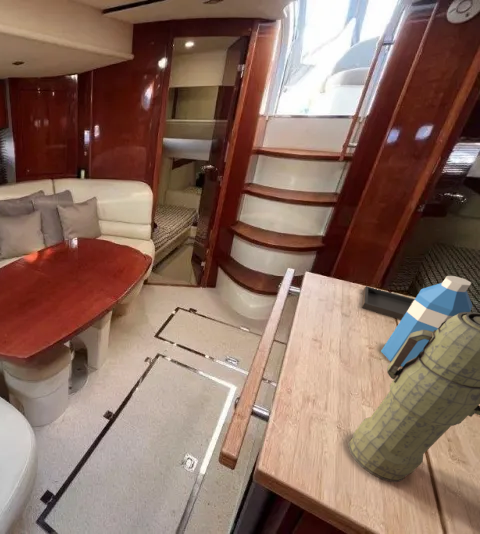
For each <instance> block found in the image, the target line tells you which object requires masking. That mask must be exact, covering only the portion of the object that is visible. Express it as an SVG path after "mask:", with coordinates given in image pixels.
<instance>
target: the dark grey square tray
mask: <svg viewBox="0 0 480 534" xmlns="http://www.w3.org/2000/svg"><path fill="white" fill-rule="evenodd" d="M365 286H366V287H365ZM365 286H364V288H363V290H362V297H361V298H362V300H361V309H363V310H367V311H369V312H373V313H376V314H380V315H384V316H387V317H390V318H393V319H397V320H400V321H401V320H402V318H403V317H404V315H405V313H406V312H407V310H408V309H409V307H410V306H411V304H412V303H413V301H414V300H415V298H413V297H408V296H405V295H401V294H398V293H393V292H389V291H386V290H382V289H379V288H375V287H372V286H367V285H365ZM374 288H375V289H374ZM377 289H378V290H377ZM381 290H382V291H381Z"/></svg>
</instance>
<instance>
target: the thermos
mask: <svg viewBox="0 0 480 534" xmlns="http://www.w3.org/2000/svg"><path fill="white" fill-rule="evenodd" d="M423 339H426V340H429V341H428V343H427V344H426V345H425V347H424V348H423V349H424V351H422V352H420V353H419V355H418V356H417V357H415V358H413V359H412V360H410V361H408V362H406V364H405V365H404V366H403V367H402V366H401V364H402V363H403V361H404V360H405V359H406V357H407V356H408V354H409V353H410V352H411V350H412V349H413V347H414V346H415V345H416V343H417V342H418V341H420V340H423ZM386 373H387V374H388V376H389V377H390V378H391V379H392V380H391V383H390V384H389V392H388V393H387V394H386V396H385V397H384V398H383V400H381V402H380V404H379V405H378V406H377V408H376V409H375V410H374V412H373V413H372V414H371V416H368V417H367V418H364V419H363V420H362V421H361V423H360V424H359V426H357V428H356V429H355V430H354V432H353V434H352V437H350V440H349V441H348V445H347V446H348V450H349V454H350V455H351V456H352V458H353V459H354V461H355V462H356V463H357V464H358V465H359V466H360V467H361V468H362V469H364V470H365V471H367V472H368V473H369V474H371V475H372V476H374V477H376V478H378V479H379V480H383V481H385V482H390V483H399V482H401V481H403V480H404V479H405V478H406V476H409V475H411V474H412V473H414V471H416V469H418V467H419V466H420V465H421V464H422V463H423V461H424V454H425V453H427V452H428V450H429V449H430V448H431V447H433V445H434V444H435V443H436V442H437V441H438V440H440V438H441V437H442V436H443V435H444V434H445V433H446V432H447V431H448V430H449V429H450V428H451V427H452V426H457V425H460V424H461V423H462V422H463V421H464V420H465V419H466V418H468V417H470V418H472V417H473V416H474V415H478V416H480V312H473V311H470V312H462V313H458V314H457V315H455V316H453V317H451V318H450V319H448V320H446V321H445V322H443V323H442V324H441V325H440V327H439V328H438V329H437V330H434V332H433V331H428V330H420V331H416V332H413V333H411V334H410V335H409V337H408V338H407V340H406V341H405V343H404V344H403V346H402V347H401V349H400V350H399V351H398V353H397V354H396V356H395V357H394V359H393V360H392V361H390V362H389V364H388V365H387V367H386Z"/></svg>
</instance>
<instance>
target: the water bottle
mask: <svg viewBox="0 0 480 534" xmlns="http://www.w3.org/2000/svg"><path fill="white" fill-rule="evenodd" d="M471 284H472V282H471V281H469V280H468V279H466V278H463V277H459V276H455V275H447V276H445V278H444V280H443V281H442V282H440V283H437V284H433V285H430V286H427V287H424V288H421V289H420V291H419V292H418V294H417V295H416V297H415V298H414V299H415V300H414V301H413V303H412V304H411V306H410V307H409V309H408V310H407V312H406V313H405V315H404V317H403V318H402V320H400V321H399V322H398V324H397V325H396V327H395V329H394V330H393V331H392V333H391V335H390V336H389V338H388V339H387V341H386V342H385V344H384V346H383V347H382V349H381V350H380V353H382V354H383V355H384V357H386V359H387V360H388V361H389V362H391V361H392V360H393V359H394V357H395V356H396V354H397V353H398V351H399V350H400V349H401V347H402V346H403V344H404V343H405V341H406V340H407V338H408V337H409V335H410V334H411V333H413V332H416V331H420V330H428V331H433V332H434V330H437V329H438V328H439V327H440V325H441V324H442V323H443V322H445V321H446V320H448V319H450V318H451V317H453V316H455V315H457V314H458V313H462V312H472V311H471V310H472V308H473V303H472V301H471V298H470V296H469V293H468V291H467V290H468V289H469V288H470V286H471ZM428 341H429V340H426V339H423V340H420V341H418V342H417V343H416V345H415V346H414V347H413V349H412V350H411V352H410V353H409V354H408V356H407V357H406V359H405V360H404V361H403V363H402V364H401V366H400V367H401V368H403V366H404V365H405V364H406V362H408V361H410V360H412V359H413V358H415V357H417V356H418V355H419V353H420V352H422V351H424V349H423V348H424V347H425V345H426V344H427V343H428Z"/></svg>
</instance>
